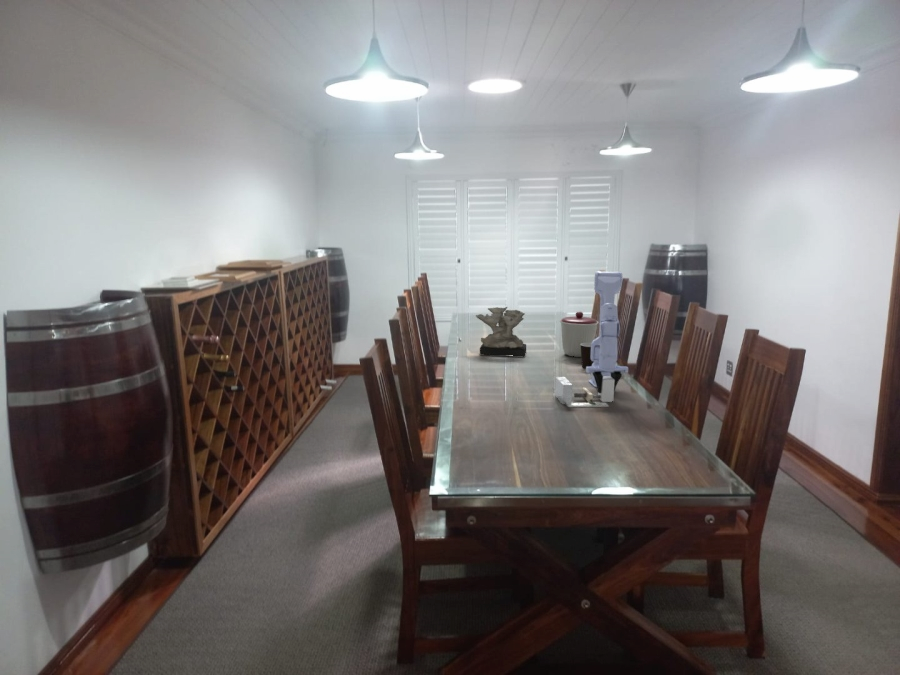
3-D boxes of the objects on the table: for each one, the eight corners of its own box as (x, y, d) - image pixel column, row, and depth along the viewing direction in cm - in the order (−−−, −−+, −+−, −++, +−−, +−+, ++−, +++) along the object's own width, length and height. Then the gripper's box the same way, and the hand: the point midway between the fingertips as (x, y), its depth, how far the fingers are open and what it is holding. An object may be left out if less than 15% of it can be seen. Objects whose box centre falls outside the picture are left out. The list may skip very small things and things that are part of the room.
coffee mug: (585, 370, 253) (586, 347, 252) (575, 365, 262) (576, 343, 260) (609, 368, 256) (610, 346, 255) (599, 364, 265) (600, 342, 263)
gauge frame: (555, 395, 214) (555, 376, 213) (596, 395, 215) (597, 376, 213) (564, 407, 200) (565, 387, 199) (608, 406, 201) (610, 386, 200)
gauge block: (589, 397, 211) (590, 376, 210) (608, 397, 212) (610, 376, 210) (593, 401, 207) (594, 379, 205) (613, 401, 207) (614, 379, 205)
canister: (569, 349, 296) (571, 308, 292) (603, 354, 285) (605, 311, 281) (551, 355, 282) (553, 311, 278) (586, 360, 271) (588, 315, 267)
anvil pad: (571, 395, 213) (571, 387, 213) (585, 395, 213) (585, 387, 213) (581, 406, 200) (581, 398, 199) (596, 406, 200) (596, 398, 200)
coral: (472, 354, 282) (472, 310, 278) (479, 346, 302) (479, 305, 298) (524, 357, 277) (526, 312, 273) (528, 349, 297) (529, 306, 293)
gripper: (590, 357, 202) (588, 395, 205) (632, 357, 203) (629, 395, 205) (585, 353, 209) (583, 390, 211) (625, 352, 210) (622, 389, 212)
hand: (605, 392), depth 209 cm, fingers closed on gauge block, 4 cm apart
